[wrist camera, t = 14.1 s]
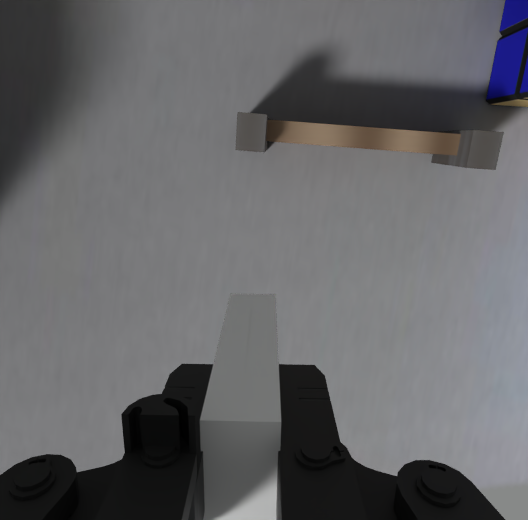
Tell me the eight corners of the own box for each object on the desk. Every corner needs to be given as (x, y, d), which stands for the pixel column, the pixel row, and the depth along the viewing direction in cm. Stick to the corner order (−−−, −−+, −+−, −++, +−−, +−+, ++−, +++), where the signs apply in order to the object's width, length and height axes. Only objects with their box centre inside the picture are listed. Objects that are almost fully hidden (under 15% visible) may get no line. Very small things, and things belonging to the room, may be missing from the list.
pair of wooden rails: (243, 148, 36) (235, 150, 30) (257, -96, 31) (251, -160, 25) (455, 164, 36) (495, 169, 29) (501, -79, 31) (562, -139, 25)
